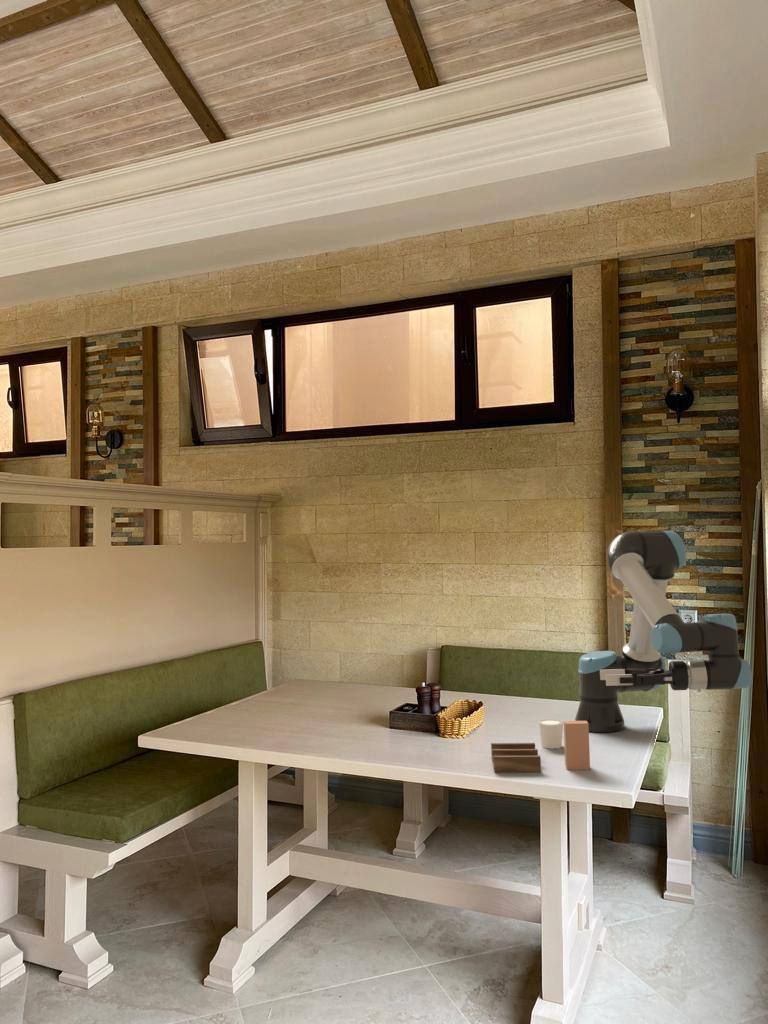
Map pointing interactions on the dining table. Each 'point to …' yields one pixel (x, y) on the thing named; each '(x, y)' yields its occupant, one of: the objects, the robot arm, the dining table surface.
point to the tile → (576, 744)
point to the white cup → (551, 733)
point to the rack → (515, 757)
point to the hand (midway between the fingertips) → (602, 677)
